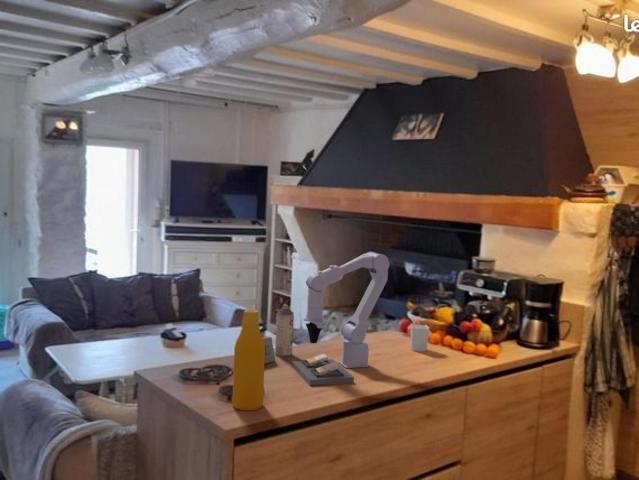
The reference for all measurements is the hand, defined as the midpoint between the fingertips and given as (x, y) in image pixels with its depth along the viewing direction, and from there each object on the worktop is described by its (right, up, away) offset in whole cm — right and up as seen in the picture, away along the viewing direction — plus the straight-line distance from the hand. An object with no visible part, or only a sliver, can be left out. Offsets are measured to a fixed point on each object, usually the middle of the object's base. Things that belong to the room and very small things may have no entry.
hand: (313, 342), depth 220 cm
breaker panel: (+3, -10, -6) cm, 12 cm away
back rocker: (+2, -7, -1) cm, 7 cm away
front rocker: (+5, -8, -12) cm, 15 cm away
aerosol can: (-12, -8, +17) cm, 22 cm away
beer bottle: (-20, -12, -40) cm, 46 cm away
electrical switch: (-20, -8, +5) cm, 22 cm away
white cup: (+44, -9, +34) cm, 56 cm away
